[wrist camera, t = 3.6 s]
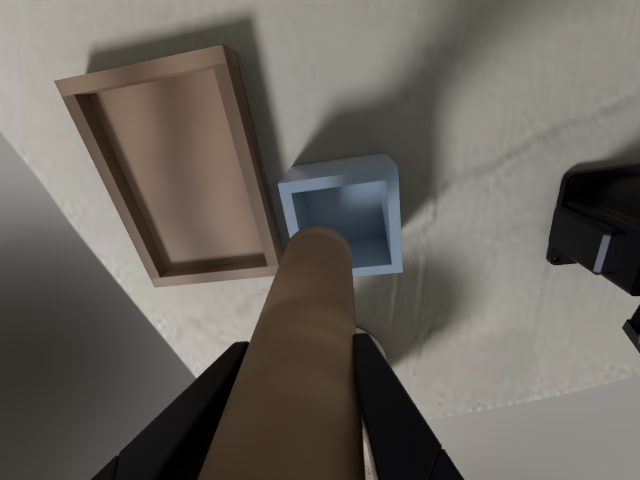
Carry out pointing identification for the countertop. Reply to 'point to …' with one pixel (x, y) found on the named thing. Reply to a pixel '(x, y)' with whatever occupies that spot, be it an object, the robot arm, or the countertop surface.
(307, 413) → the dowel pin
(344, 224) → the holder cup
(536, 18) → the countertop surface
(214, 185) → the tray
